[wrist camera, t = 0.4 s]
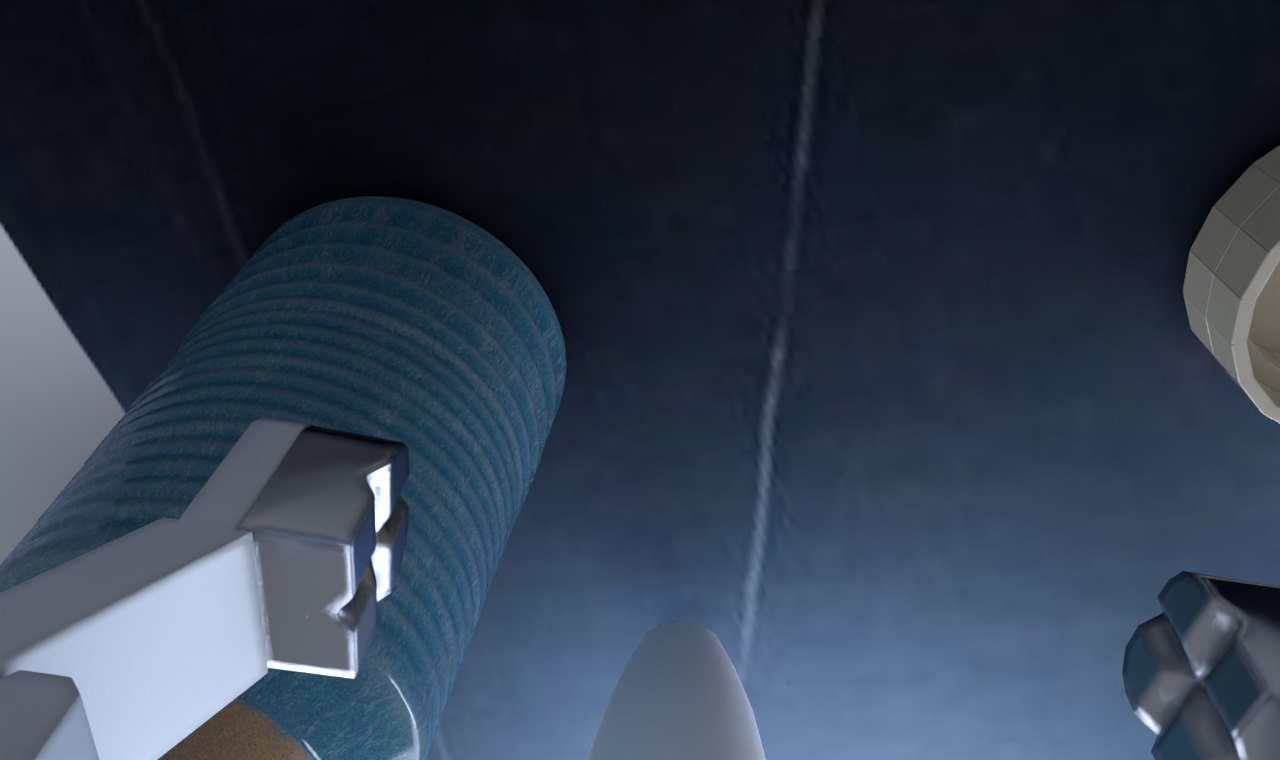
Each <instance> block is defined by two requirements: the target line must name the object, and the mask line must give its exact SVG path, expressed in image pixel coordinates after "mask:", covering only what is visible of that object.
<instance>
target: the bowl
mask: <svg viewBox="0 0 1280 760" xmlns="http://www.w3.org/2000/svg"><path fill="white" fill-rule="evenodd" d="M1183 296H1184V300H1185V305H1186V309H1187V313H1188V318H1189V322H1190V326H1191V330H1192V331H1193V332H1194V334H1195V335H1196V336H1197V338H1198V339H1199V340H1200V341H1201V343H1202V344H1203V345H1204V346H1205V348H1206V349H1207V350H1208V352H1209V353H1210V354H1211V355H1212V357H1213V358H1214V359H1215V360H1216V361H1217V362H1218V364H1219V365H1220V366H1221V367H1222V368H1223V369H1224V370H1225V372H1226V373H1227V374H1228V375H1229V376H1230V377H1231V378H1232V380H1233V381H1234V382H1235V383H1236V384H1237V385H1238V386H1239V388H1240V389H1241V390H1242V391H1243V392H1244V393H1245V394H1246V396H1247V397H1248V398H1249V399H1250V400H1251V401H1252V402H1253V404H1254V405H1255V406H1256V407H1257V408H1258V409H1259V410H1260V412H1261V413H1263V414H1264V415H1265V416H1267V417H1269V418H1271V419H1273V420H1275V421H1277V422H1278V423H1280V145H1279V146H1278V147H1276V148H1275V149H1273V150H1272V151H1270V152H1269V153H1267V154H1266V155H1264V156H1263V157H1261V158H1260V159H1258V160H1257V161H1255V162H1254V163H1253V164H1252V165H1251V166H1250V167H1249V168H1248V169H1247V170H1246V171H1245V172H1244V173H1243V174H1242V175H1241V177H1240V178H1239V179H1238V180H1237V181H1236V182H1235V183H1234V184H1233V185H1232V186H1231V187H1230V188H1229V189H1228V191H1227V192H1226V193H1225V194H1224V195H1223V196H1222V197H1221V198H1220V199H1219V200H1218V201H1217V202H1216V203H1215V206H1213V207H1212V209H1211V211H1210V213H1209V215H1208V217H1207V219H1206V220H1205V222H1204V224H1203V226H1202V228H1201V230H1200V232H1199V234H1198V236H1197V237H1196V239H1195V241H1194V243H1193V245H1192V247H1191V249H1190V252H1189V258H1188V264H1187V269H1186V275H1185V281H1184V287H1183Z"/></svg>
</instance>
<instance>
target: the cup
mask: <svg viewBox="0 0 1280 760" xmlns="http://www.w3.org/2000/svg"><path fill="white" fill-rule="evenodd" d="M586 760H766V758H765V754H764V751H763V747H762V743H761V739H760V736H759V732H758V728H757V725H756V721H755V717H754V714H753V710H752V708H751V705H750V703H749V701H748V698H747V696H746V694H745V691H744V689H743V686H742V684H741V682H740V679H739V677H738V674H737V672H736V670H735V668H734V666H733V664H732V662H731V661H730V659H729V657H728V655H727V654H726V652H725V650H724V648H723V647H722V645H721V643H720V641H719V640H718V638H717V637H716V635H715V634H714V633H713V632H711V631H710V630H709V629H707V628H706V627H704V626H702V625H698V624H695V623H692V622H684V621H672V622H669V623H665V624H661V625H658V626H657V627H656V628H654V629H653V630H651V631H650V632H648V634H647V635H646V637H645V638H644V639H643V641H642V642H641V644H640V645H639V646H638V648H637V649H636V651H635V652H634V654H633V655H632V657H631V659H630V661H629V663H628V665H627V667H626V669H625V670H624V672H623V674H622V676H621V678H620V680H619V682H618V684H617V686H616V688H615V690H614V691H613V693H612V695H611V697H610V699H609V701H608V703H607V705H606V707H605V709H604V712H603V715H602V718H601V720H600V723H599V726H598V728H597V731H596V734H595V737H594V739H593V742H592V745H591V747H590V750H589V753H588V756H587V758H586Z"/></svg>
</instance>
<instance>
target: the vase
mask: <svg viewBox="0 0 1280 760" xmlns="http://www.w3.org/2000/svg"><path fill="white" fill-rule="evenodd" d="M565 379H566V351H565V342H564V338H563V334H562V329H561V326H560V323H559V320H558V318H557V315H556V312H555V310H554V308H553V306H552V304H551V302H550V300H549V298H548V296H547V294H546V293H545V291H544V289H543V288H542V286H541V284H540V283H539V281H538V280H537V279H536V277H535V276H534V275H533V273H532V272H531V271H530V270H529V268H528V267H527V266H526V265H525V264H524V263H523V262H522V261H521V260H520V258H519V257H518V256H517V255H516V254H515V253H514V252H512V251H511V250H510V249H509V248H508V247H507V246H506V245H505V244H504V243H502V242H501V241H500V240H498V239H497V238H496V237H494V236H493V235H492V234H490V233H489V232H488V231H486V230H484V229H483V228H481V227H480V226H478V225H476V224H475V223H473V222H471V221H469V220H467V219H465V218H463V217H461V216H459V215H457V214H455V213H453V212H450V211H448V210H445V209H442V208H440V207H437V206H434V205H431V204H427V203H423V202H420V201H416V200H410V199H404V198H399V197H386V196H359V197H351V198H343V199H339V200H335V201H330V202H326V203H323V204H321V205H318V206H315V207H312V208H310V209H308V210H306V211H304V212H302V213H300V214H298V215H296V216H294V217H293V218H291V219H290V220H289V221H287V222H286V223H284V224H283V225H281V226H280V227H279V228H278V229H277V230H275V231H274V232H273V233H272V234H271V235H270V236H269V237H268V238H267V239H266V240H265V241H264V243H263V244H262V245H261V246H260V247H259V248H258V250H257V251H256V252H255V253H254V254H253V256H252V257H251V258H250V260H249V261H248V262H247V263H246V264H245V265H244V266H243V267H242V268H241V270H240V271H239V272H238V273H237V274H236V276H235V277H234V278H233V279H232V281H231V282H230V283H229V284H228V285H227V286H226V287H225V288H224V290H223V291H222V292H221V293H220V294H219V295H218V297H217V298H216V299H215V300H214V302H213V303H212V304H211V305H210V306H209V307H208V309H207V310H206V311H205V312H204V313H203V315H202V316H201V317H200V318H199V319H198V321H197V323H196V324H195V326H194V327H193V328H192V329H191V330H190V332H189V333H188V334H187V335H186V336H185V338H184V339H183V341H182V342H181V344H180V346H179V347H178V349H177V350H176V352H175V354H174V355H173V356H172V358H171V359H170V360H169V361H168V362H167V364H166V365H165V366H164V367H163V368H162V369H161V371H160V372H159V373H158V374H157V375H156V376H155V378H154V379H153V380H152V381H151V383H150V384H149V385H148V386H147V387H146V389H145V390H144V391H143V392H142V393H141V395H140V396H139V397H138V399H137V400H136V401H135V402H134V403H133V405H132V406H131V407H130V408H129V409H128V411H127V412H126V414H125V415H124V417H123V418H122V419H121V420H120V421H119V422H118V424H117V425H116V426H115V427H114V428H113V429H112V430H111V432H110V433H109V434H108V435H107V436H106V437H105V439H104V440H103V441H102V442H101V443H100V445H99V446H98V447H97V448H96V450H95V451H94V452H93V453H92V454H91V455H90V457H89V458H88V459H87V460H86V462H85V463H84V465H83V467H82V468H81V469H80V470H79V471H78V473H77V474H76V475H75V476H74V477H73V478H72V480H71V481H70V482H69V483H68V485H67V486H66V487H65V488H64V489H63V491H62V492H61V493H60V494H59V495H58V497H57V498H56V499H55V501H54V502H53V503H52V504H51V505H50V506H49V508H48V509H47V510H46V511H45V512H44V513H43V515H42V516H41V517H40V518H39V520H38V521H37V523H36V524H35V525H34V526H33V528H32V529H31V530H30V531H29V533H28V534H27V535H26V536H25V537H24V538H23V540H22V541H21V542H20V543H19V544H18V545H17V546H16V548H15V549H14V550H13V551H12V552H11V553H10V555H9V556H8V557H7V558H6V559H5V560H4V562H3V563H2V565H1V566H0V593H1V592H3V591H5V590H7V589H9V588H12V587H14V586H16V585H18V584H20V583H22V582H25V581H27V580H29V579H31V578H33V577H35V576H38V575H40V574H42V573H44V572H46V571H48V570H51V569H53V568H55V567H57V566H59V565H61V564H63V563H66V562H68V561H70V560H72V559H74V558H76V557H79V556H81V555H83V554H85V553H87V552H89V551H92V550H94V549H96V548H98V547H100V546H102V545H105V544H107V543H109V542H111V541H113V540H115V539H118V538H120V537H122V536H124V535H126V534H128V533H130V532H133V531H135V530H137V529H139V528H141V527H143V526H146V525H148V524H150V523H152V522H154V521H156V520H159V519H161V518H163V517H164V518H171V519H179V518H180V517H181V515H182V514H183V513H184V511H185V510H186V509H187V507H188V506H189V505H190V503H191V502H192V501H193V499H194V498H195V497H196V495H197V494H198V493H199V491H200V490H201V489H202V487H203V486H204V485H205V483H206V482H207V481H208V479H209V478H210V477H211V475H212V474H213V473H214V471H215V470H216V469H217V467H218V466H219V465H220V463H221V462H222V461H223V459H224V458H225V457H226V455H227V454H228V453H229V451H230V450H231V449H232V447H233V446H234V445H235V443H236V442H237V441H238V439H239V438H240V437H241V435H242V434H243V433H244V431H245V430H246V429H247V427H248V426H249V425H250V424H251V423H252V422H253V421H256V420H258V419H260V418H262V417H266V418H272V419H277V420H283V421H288V422H294V423H299V424H305V425H308V426H311V425H314V426H319V427H324V428H330V429H335V430H340V431H346V432H351V433H356V434H362V435H367V436H372V437H378V438H383V439H388V440H394V441H399V442H404V443H405V444H406V446H407V447H408V449H409V475H408V478H407V480H406V482H405V484H404V487H403V489H402V491H401V493H400V496H401V497H402V498H403V499H404V501H405V502H406V503H407V505H408V506H409V521H408V531H407V539H406V546H405V550H404V554H403V558H402V562H401V566H400V570H399V573H398V575H397V578H396V581H395V583H394V586H393V588H392V591H391V593H390V594H388V595H387V596H385V597H384V598H382V599H381V600H379V601H378V602H377V627H376V630H375V632H374V634H373V637H372V639H371V642H370V644H369V646H368V649H367V651H366V653H365V656H364V658H363V661H362V663H361V665H360V668H359V670H358V672H357V675H356V677H355V679H352V678H344V677H337V676H329V675H322V674H314V673H307V672H299V671H291V670H284V669H276V668H269V667H268V673H267V674H266V675H265V676H263V677H262V678H261V679H259V680H258V681H257V682H256V683H254V684H253V685H252V686H250V687H249V688H248V689H247V690H245V691H244V692H243V693H242V694H240V695H239V696H238V697H236V698H235V699H234V700H233V701H231V702H230V703H229V704H228V705H226V706H225V707H224V708H222V709H221V710H220V711H219V712H217V713H216V714H215V715H213V716H212V717H211V718H210V719H208V720H207V721H206V722H205V723H203V724H202V725H201V726H199V727H198V728H197V729H196V730H194V731H193V732H192V733H191V734H189V735H188V736H187V737H185V738H184V739H183V740H182V741H180V742H179V743H178V744H176V745H175V746H174V747H173V748H171V749H170V750H169V751H168V752H166V753H165V754H164V755H162V756H161V757H160V758H159V759H157V760H427V757H428V753H429V749H430V747H431V744H432V742H433V740H434V737H435V734H436V732H437V729H438V724H439V721H440V719H441V716H442V714H443V711H444V709H445V706H446V703H447V700H448V698H449V696H450V693H451V691H452V688H453V685H454V682H455V679H456V676H457V674H458V672H459V669H460V666H461V663H462V659H463V657H464V655H465V652H466V650H467V647H468V644H469V642H470V640H471V637H472V635H473V633H474V630H475V627H476V624H477V621H478V618H479V616H480V614H481V611H482V608H483V605H484V601H485V599H486V596H487V594H488V591H489V588H490V586H491V583H492V581H493V578H494V576H495V573H496V570H497V567H498V565H499V563H500V560H501V557H502V554H503V551H504V549H505V546H506V544H507V541H508V537H509V534H510V532H511V529H512V527H513V524H514V522H515V520H516V518H517V517H518V515H519V513H520V510H521V508H522V506H523V503H524V501H525V498H526V495H527V493H528V491H529V488H530V486H531V484H532V481H533V478H534V475H535V471H536V469H537V466H538V464H539V462H540V459H541V456H542V453H543V449H544V446H545V444H546V441H547V439H548V436H549V434H550V430H551V427H552V423H553V421H554V418H555V416H556V413H557V411H558V408H559V405H560V402H561V399H562V395H563V391H564V386H565Z"/></svg>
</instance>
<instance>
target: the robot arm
mask: <svg viewBox="0 0 1280 760" xmlns="http://www.w3.org/2000/svg"><path fill="white" fill-rule="evenodd" d="M408 475H409V449H408V447H407V446H406V444H405V443H404V442H399V441H394V440H388V439H383V438H378V437H372V436H367V435H362V434H356V433H351V432H346V431H340V430H335V429H330V428H324V427H319V426H314V425H311V426H308V425H305V424H299V423H294V422H288V421H283V420H277V419H272V418H266V417H262V418H260V419H258V420H256V421H253V422H252V423H251V424H250V425H249V426H248V427H247V429H246V430H245V431H244V433H243V434H242V435H241V437H240V438H239V439H238V441H237V442H236V443H235V445H234V446H233V447H232V449H231V450H230V451H229V453H228V454H227V455H226V457H225V458H224V459H223V461H222V462H221V463H220V465H219V466H218V467H217V469H216V470H215V471H214V473H213V474H212V475H211V477H210V478H209V479H208V481H207V482H206V483H205V485H204V486H203V487H202V489H201V490H200V491H199V493H198V494H197V495H196V497H195V498H194V499H193V501H192V502H191V503H190V505H189V506H188V507H187V509H186V510H185V511H184V513H183V514H182V515H181V517H180V518H179V519H171V518H164V517H163V518H161V519H159V520H156V521H154V522H152V523H150V524H148V525H146V526H143V527H141V528H139V529H137V530H135V531H133V532H130V533H128V534H126V535H124V536H122V537H120V538H118V539H115V540H113V541H111V542H109V543H107V544H105V545H102V546H100V547H98V548H96V549H94V550H92V551H89V552H87V553H85V554H83V555H81V556H79V557H76V558H74V559H72V560H70V561H68V562H66V563H63V564H61V565H59V566H57V567H55V568H53V569H51V570H48V571H46V572H44V573H42V574H40V575H38V576H35V577H33V578H31V579H29V580H27V581H25V582H22V583H20V584H18V585H16V586H14V587H12V588H9V589H7V590H5V591H3V592H1V593H0V760H157V759H159V758H160V757H161V756H162V755H164V754H165V753H166V752H168V751H169V750H170V749H171V748H173V747H174V746H175V745H176V744H178V743H179V742H180V741H182V740H183V739H184V738H185V737H187V736H188V735H189V734H191V733H192V732H193V731H194V730H196V729H197V728H198V727H199V726H201V725H202V724H203V723H205V722H206V721H207V720H208V719H210V718H211V717H212V716H213V715H215V714H216V713H217V712H219V711H220V710H221V709H222V708H224V707H225V706H226V705H228V704H229V703H230V702H231V701H233V700H234V699H235V698H236V697H238V696H239V695H240V694H242V693H243V692H244V691H245V690H247V689H248V688H249V687H250V686H252V685H253V684H254V683H256V682H257V681H258V680H259V679H261V678H262V677H263V676H265V675H266V674H267V673H268V667H269V668H276V669H284V670H291V671H299V672H307V673H314V674H322V675H329V676H337V677H344V678H352V679H355V677H356V675H357V672H358V670H359V668H360V665H361V663H362V661H363V658H364V656H365V653H366V651H367V649H368V646H369V644H370V642H371V639H372V637H373V634H374V632H375V630H376V627H377V602H378V601H379V600H381V599H382V598H384V597H385V596H387V595H388V594H390V593H391V591H392V588H393V586H394V583H395V581H396V578H397V575H398V573H399V570H400V566H401V562H402V558H403V554H404V550H405V546H406V539H407V531H408V521H409V506H408V505H407V503H406V502H405V501H404V499H403V498H402V497H401V496H400V493H401V491H402V489H403V487H404V484H405V482H406V480H407V478H408ZM1158 599H1159V603H1160V607H1161V610H1162V614H1160V615H1158V616H1156V617H1154V618H1152V619H1150V620H1148V621H1147V622H1145V623H1143V624H1141V625H1139V626H1138V627H1137V629H1136V631H1135V633H1134V634H1133V636H1132V638H1131V639H1130V641H1129V643H1128V644H1127V646H1126V649H1125V656H1124V664H1123V671H1122V673H1123V679H1124V685H1125V691H1126V694H1127V697H1128V699H1129V702H1130V704H1131V706H1132V709H1133V711H1134V713H1135V714H1136V715H1137V716H1138V717H1139V718H1140V719H1141V720H1142V721H1143V722H1144V723H1145V724H1146V725H1148V726H1149V727H1150V728H1151V729H1152V730H1153V731H1154V732H1155V733H1156V734H1157V737H1156V740H1155V743H1154V745H1153V748H1152V751H1151V752H1152V754H1153V756H1154V758H1155V760H1280V586H1273V585H1268V584H1261V583H1255V582H1249V581H1242V580H1236V579H1230V578H1223V577H1217V576H1211V575H1204V574H1198V573H1192V572H1186V571H1183V572H1181V573H1179V574H1178V575H1176V576H1175V577H1173V578H1171V579H1170V580H1169V581H1168V582H1167V584H1166V585H1165V587H1164V588H1163V590H1162V591H1161V593H1160V594H1159V596H1158Z"/></svg>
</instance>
